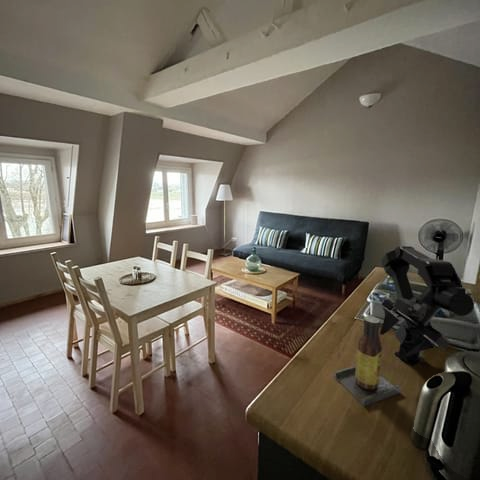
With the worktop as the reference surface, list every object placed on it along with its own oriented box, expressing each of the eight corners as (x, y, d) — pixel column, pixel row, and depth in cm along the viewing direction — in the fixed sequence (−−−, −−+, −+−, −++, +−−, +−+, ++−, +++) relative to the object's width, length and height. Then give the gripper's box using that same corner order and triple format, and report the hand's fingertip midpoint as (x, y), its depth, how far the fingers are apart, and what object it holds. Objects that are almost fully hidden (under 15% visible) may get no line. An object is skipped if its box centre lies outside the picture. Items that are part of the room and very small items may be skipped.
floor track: (367, 366, 84) (367, 361, 84) (400, 392, 73) (400, 387, 73) (333, 376, 80) (334, 371, 79) (363, 406, 69) (364, 400, 69)
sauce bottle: (381, 392, 73) (389, 327, 69) (356, 389, 74) (363, 324, 70) (374, 376, 79) (381, 315, 75) (352, 373, 80) (358, 313, 76)
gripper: (388, 275, 81) (355, 313, 82) (447, 306, 64) (403, 355, 65) (407, 292, 85) (375, 329, 86) (467, 326, 67) (426, 372, 69)
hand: (392, 344), depth 76 cm, fingers open, 9 cm apart
